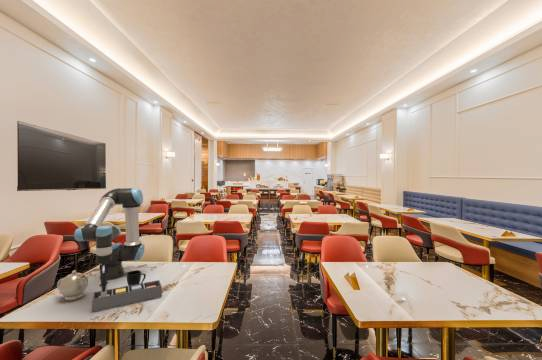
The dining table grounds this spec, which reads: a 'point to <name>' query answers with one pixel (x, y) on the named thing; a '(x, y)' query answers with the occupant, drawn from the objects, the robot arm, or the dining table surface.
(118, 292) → the key
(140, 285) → the key
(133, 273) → the mug
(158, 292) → the compartment tray
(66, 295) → the teapot
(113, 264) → the robot arm
